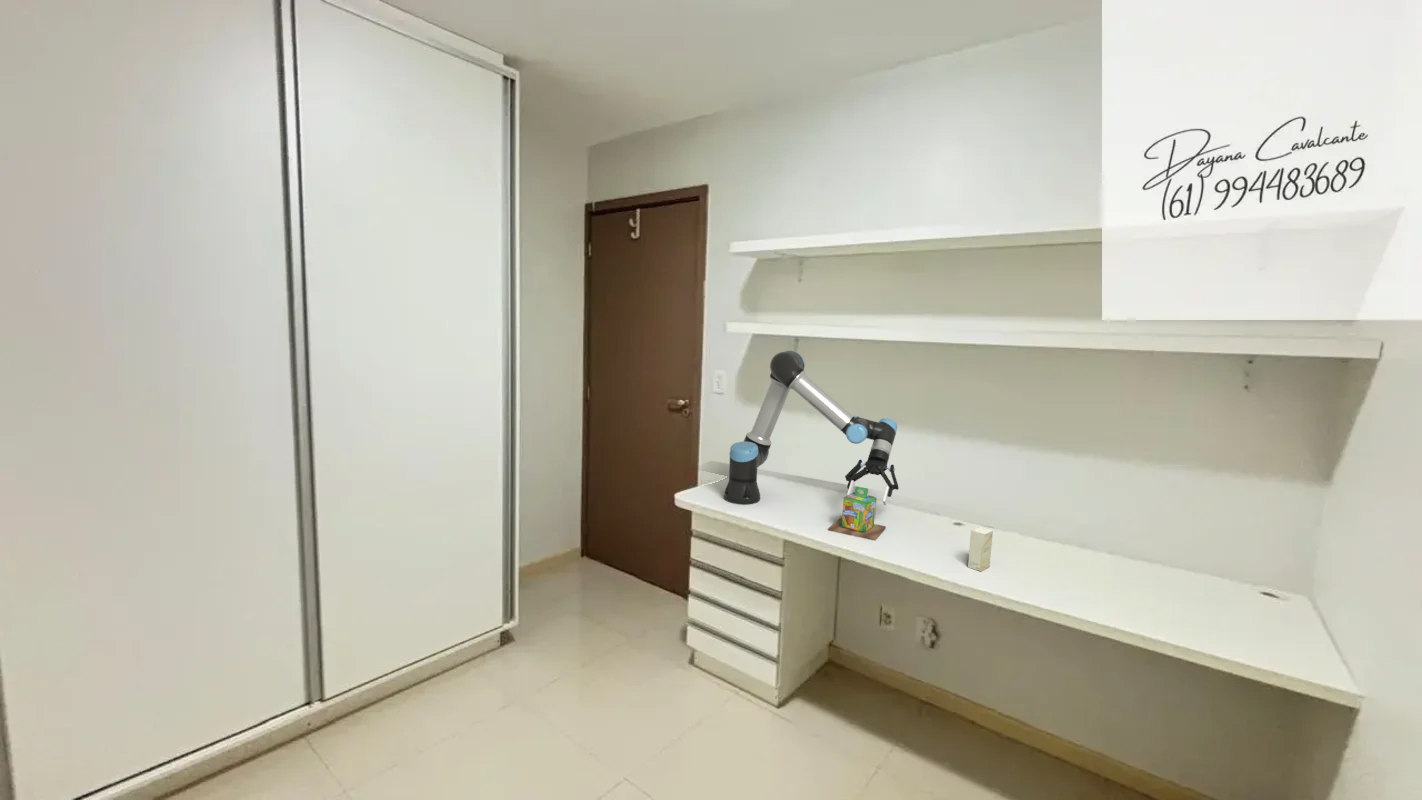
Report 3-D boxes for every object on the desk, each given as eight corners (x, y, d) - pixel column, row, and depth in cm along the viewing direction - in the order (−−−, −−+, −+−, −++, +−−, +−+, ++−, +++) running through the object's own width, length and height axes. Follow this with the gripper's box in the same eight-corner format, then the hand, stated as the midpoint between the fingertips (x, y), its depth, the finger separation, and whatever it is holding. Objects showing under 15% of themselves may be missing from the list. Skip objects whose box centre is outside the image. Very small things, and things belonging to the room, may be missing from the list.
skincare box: (981, 572, 181) (984, 534, 180) (966, 567, 185) (970, 530, 183) (990, 566, 185) (993, 530, 184) (976, 562, 189) (979, 526, 187)
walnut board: (828, 530, 213) (828, 527, 213) (840, 519, 225) (840, 517, 225) (875, 540, 204) (875, 537, 204) (885, 528, 216) (885, 526, 216)
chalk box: (840, 527, 214) (843, 488, 212) (851, 521, 221) (854, 483, 219) (864, 533, 208) (867, 493, 206) (874, 527, 215) (877, 488, 213)
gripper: (913, 463, 228) (901, 511, 217) (850, 454, 240) (836, 498, 230) (911, 452, 222) (898, 501, 212) (847, 443, 235) (832, 488, 224)
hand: (866, 499), depth 221 cm, fingers open, 13 cm apart
